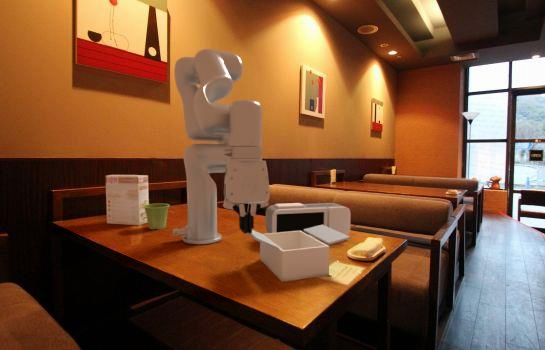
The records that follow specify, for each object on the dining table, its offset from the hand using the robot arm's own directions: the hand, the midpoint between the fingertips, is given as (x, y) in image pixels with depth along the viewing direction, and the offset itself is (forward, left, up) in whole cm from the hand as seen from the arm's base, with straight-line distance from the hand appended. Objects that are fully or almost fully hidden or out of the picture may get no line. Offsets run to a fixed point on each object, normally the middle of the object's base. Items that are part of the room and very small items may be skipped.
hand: (246, 231), depth 76 cm
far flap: (+22, +1, -2) cm, 22 cm away
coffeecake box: (-31, +69, -10) cm, 76 cm away
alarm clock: (+28, +24, -11) cm, 39 cm away
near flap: (+3, +1, -1) cm, 4 cm away
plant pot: (-20, +56, -10) cm, 60 cm away
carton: (+12, +1, -10) cm, 16 cm away
